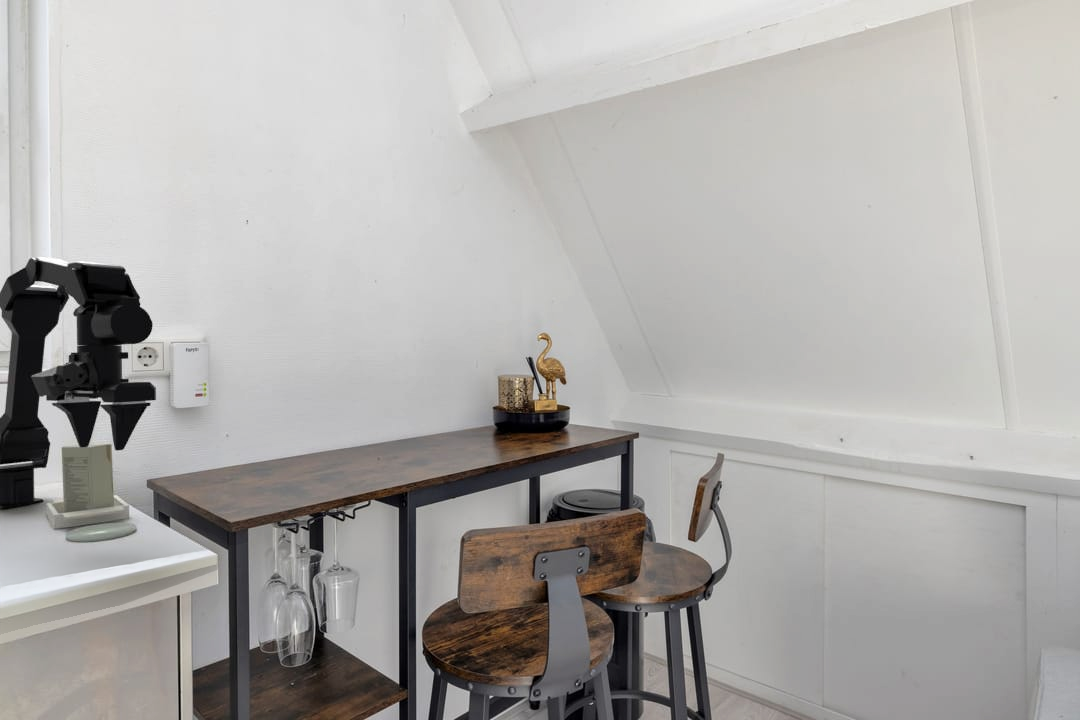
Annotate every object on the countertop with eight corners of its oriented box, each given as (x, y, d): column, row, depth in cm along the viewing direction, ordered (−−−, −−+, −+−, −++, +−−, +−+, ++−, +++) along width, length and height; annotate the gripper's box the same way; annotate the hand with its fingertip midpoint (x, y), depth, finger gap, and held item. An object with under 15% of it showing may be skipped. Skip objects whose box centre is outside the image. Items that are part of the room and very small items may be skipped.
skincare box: (115, 515, 116) (114, 443, 116) (93, 521, 112) (92, 446, 112) (84, 513, 118) (83, 442, 118) (61, 519, 113) (60, 446, 113)
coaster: (62, 533, 104) (62, 529, 104) (130, 523, 110) (130, 519, 110) (70, 545, 97) (70, 541, 97) (141, 534, 103) (141, 530, 103)
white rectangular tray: (44, 513, 118) (44, 500, 118) (113, 504, 125) (113, 492, 125) (56, 532, 105) (56, 518, 105) (132, 521, 111) (132, 508, 111)
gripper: (6, 346, 101) (7, 452, 101) (78, 343, 92) (79, 459, 92) (85, 347, 111) (87, 443, 111) (157, 344, 102) (159, 449, 102)
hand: (101, 448), depth 104 cm, fingers open, 9 cm apart
